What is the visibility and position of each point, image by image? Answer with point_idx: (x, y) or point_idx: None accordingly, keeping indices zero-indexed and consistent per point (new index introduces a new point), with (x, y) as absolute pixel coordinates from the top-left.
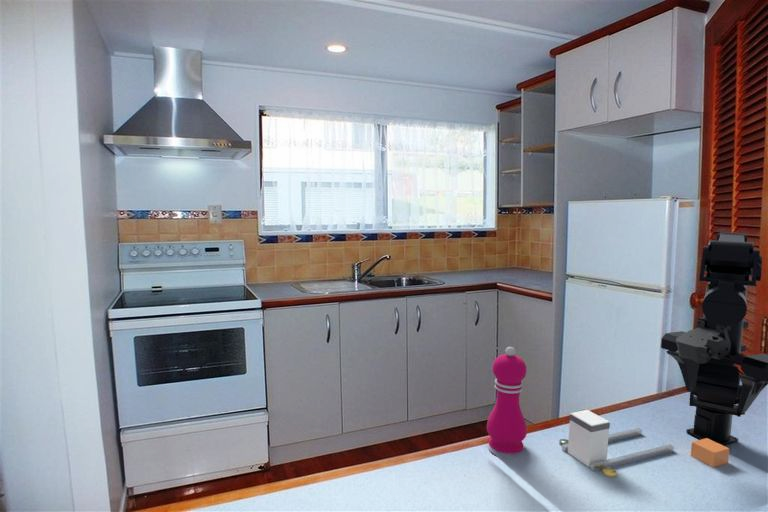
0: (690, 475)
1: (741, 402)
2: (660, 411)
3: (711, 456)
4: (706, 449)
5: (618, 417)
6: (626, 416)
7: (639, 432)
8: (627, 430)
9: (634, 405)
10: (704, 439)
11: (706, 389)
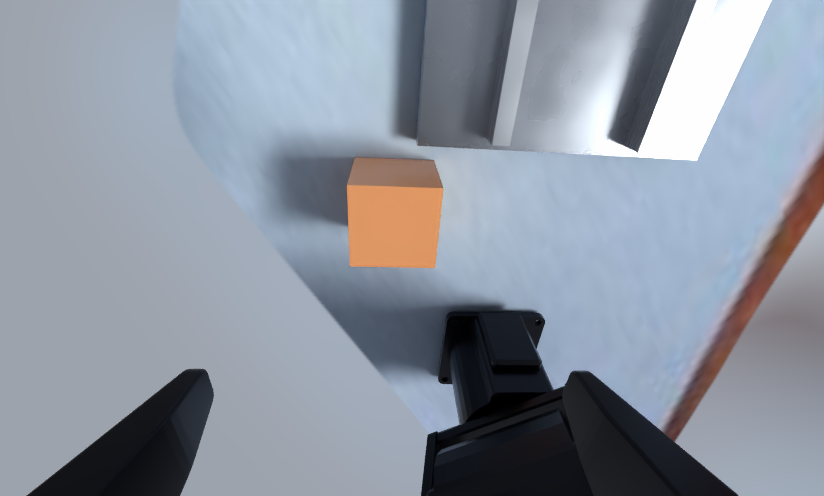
0: (377, 72)
1: (135, 433)
2: (646, 357)
3: (357, 177)
4: (379, 185)
5: (739, 220)
6: (718, 250)
7: (637, 136)
8: (683, 82)
9: (720, 330)
10: (432, 250)
11: (544, 474)
